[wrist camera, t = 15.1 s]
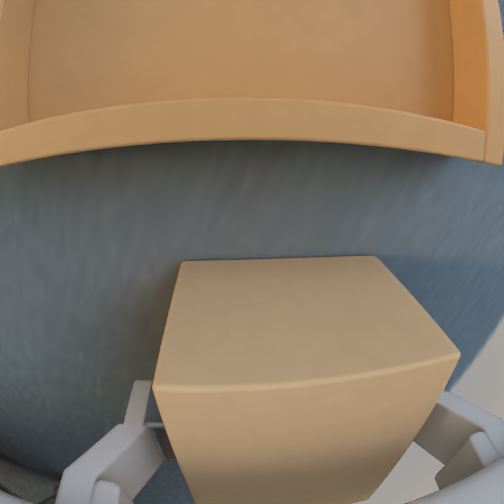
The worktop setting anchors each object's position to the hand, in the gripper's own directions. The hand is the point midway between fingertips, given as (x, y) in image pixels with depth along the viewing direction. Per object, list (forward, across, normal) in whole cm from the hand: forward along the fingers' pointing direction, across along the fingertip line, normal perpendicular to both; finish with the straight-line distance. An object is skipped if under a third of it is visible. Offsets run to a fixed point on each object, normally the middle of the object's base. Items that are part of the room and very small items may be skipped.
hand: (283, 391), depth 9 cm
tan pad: (+2, 0, 0) cm, 2 cm away
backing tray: (+2, +1, -16) cm, 16 cm away
